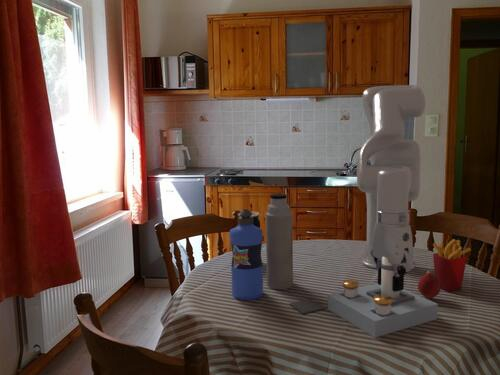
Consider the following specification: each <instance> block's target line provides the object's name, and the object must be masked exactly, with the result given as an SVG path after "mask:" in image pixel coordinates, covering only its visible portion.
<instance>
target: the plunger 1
mask: <svg viewBox="0 0 500 375" xmlns="http://www.w3.org/2000/svg"><path fill="white" fill-rule="evenodd" d="M341 283H342V287H343V291H344V297H345V298H347V299H349V300H350V299H354V298H358V288H360V282H359V281H357V280H355V279H345V280H343V281H342V282H341Z"/></svg>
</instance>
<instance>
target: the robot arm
mask: <svg viewBox="0 0 500 375" xmlns="http://www.w3.org/2000/svg"><path fill="white" fill-rule="evenodd" d="M361 98H362V99H361V100H362V107H363V111H364V113H365V115H366V119H367V122H368V125H369V137H368V139H367V140H366V141H365V142H364V143H363V145H362V146H361V148H360V150H359V152H358V156H357V162H356V181H357V182H356V183H357V187H358V189H359V190H360V191H361V192H363V193H365V197H366V199H365V200H366V255H365V256H364V257H362V259H361V263H362V264H363V265H364V266H365V267H368V268H371V269H376V270H377V283H378V284H379V285H381V262H382V256H383V257H385V258H387V260H388V262H389V263H391V264H393V267H394V274H395V276H393V286H392V290H393V291H394V292H396V291H400V290H403V289H404V288H405V276H406V275H407V274H408V273H409V271H411V270H414V269H415V264H414V263H413V259H414V246H413V245H414V244H413V242H414V241H413V234H412V229H411V225H410V224H408V223H409V222H410V217H409V202H413V201H416V200H417V199H418V198H419V196H420V189H421V188H420V187H421V148H420V146H419V143H418V142H417V141H416V140H413V139H404V138H405V133H406V132H405V121H404V118H420V117H422V115H423V114H424V112H425V109H426V98H425V93H424V91H423V90H422V89H421V88H420V87H419V85H415V84H405V85H403V84H402V85H401V84H400V85H379V86H372V87H368V88H365V89H364V91H363V93H362V95H361ZM368 161H370V164H368ZM398 266H400V268H401V269H400V270H399V267H398Z"/></svg>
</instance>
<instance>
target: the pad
mask: <svg viewBox="0 0 500 375" xmlns="http://www.w3.org/2000/svg"><path fill="white" fill-rule="evenodd" d="M288 304H289V306H290V307H292V308H293V309H295V310H296V311H297V312H298V313H300V314H302V315H306V314H307V315H308V314H311V313H315V312H318V311H323V310H326V307H325V306H323V305H322V304H320V303H318V302H317V301H315V300H314V299H312V298H307V299H303V300H299V301H298V300H297V301H293V302H289V303H288Z"/></svg>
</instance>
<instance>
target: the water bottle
mask: <svg viewBox="0 0 500 375" xmlns="http://www.w3.org/2000/svg"><path fill="white" fill-rule="evenodd" d="M251 212H252V211H250V209H247V208H244V209H241V211H239V213H238V214H239V215H240V216H241V217H239V216H238V218H237V219H238V220H237V223H239V225H237V226H235V227H234V228H231V229H230V230H229V243H230V246H231V254H232V257H231V268H230V269H231V296H232V297H233V298H234V299H236V300H241V301H254V300H258V299H260V298H262V297H263V296H264V275H263V274H264V270H263V268H264V267H263V266H264V265H263V261H262V245H263V240H264V239H263V229H262V228H261V227H260V228H258V227H256V226H254V225H253V224H252V223H253V217H251V215H252V213H251Z"/></svg>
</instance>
